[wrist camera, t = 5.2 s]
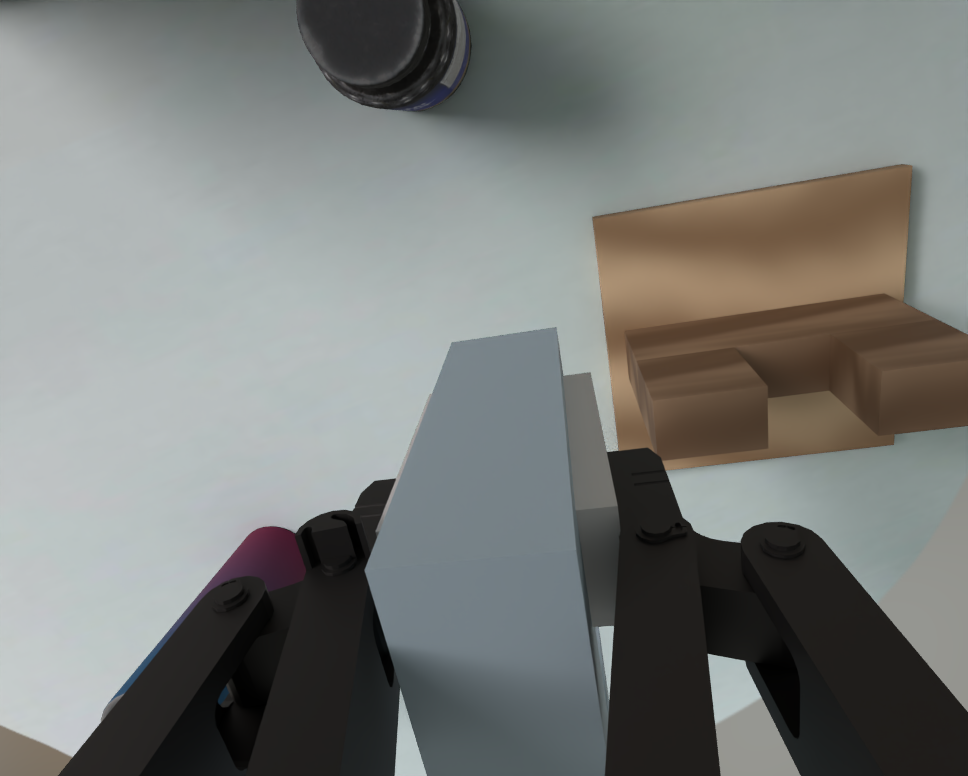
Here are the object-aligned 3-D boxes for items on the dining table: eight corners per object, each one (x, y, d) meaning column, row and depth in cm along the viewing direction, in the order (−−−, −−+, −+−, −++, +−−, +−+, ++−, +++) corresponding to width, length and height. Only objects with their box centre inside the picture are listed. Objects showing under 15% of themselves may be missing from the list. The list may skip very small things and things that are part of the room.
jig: (592, 216, 35) (613, 255, 25) (902, 164, 33) (1061, 183, 23) (620, 467, 41) (647, 579, 31) (885, 437, 39) (1006, 547, 29)
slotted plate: (451, 342, 18) (364, 571, 9) (556, 327, 18) (575, 549, 9) (533, 738, 24) (531, 1117, 15) (613, 733, 24) (661, 1121, 15)
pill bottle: (347, 96, 34) (266, 85, 24) (364, -36, 32) (281, -111, 21) (460, 123, 34) (426, 124, 24) (485, -6, 32) (460, -66, 22)
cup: (303, 507, 44) (196, 681, 31) (336, 584, 47) (252, 778, 33) (216, 524, 46) (76, 699, 32) (253, 599, 48) (138, 791, 34)
